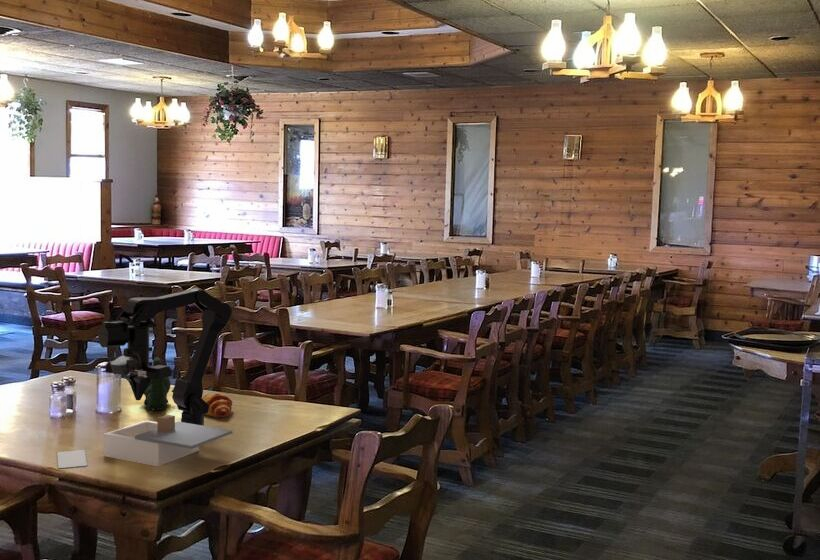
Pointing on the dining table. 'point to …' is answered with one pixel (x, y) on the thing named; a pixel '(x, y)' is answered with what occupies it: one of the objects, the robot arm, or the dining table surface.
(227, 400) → the croissant
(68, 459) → the smartphone
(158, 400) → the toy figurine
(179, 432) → the lid
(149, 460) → the lidded box
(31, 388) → the dining table surface
